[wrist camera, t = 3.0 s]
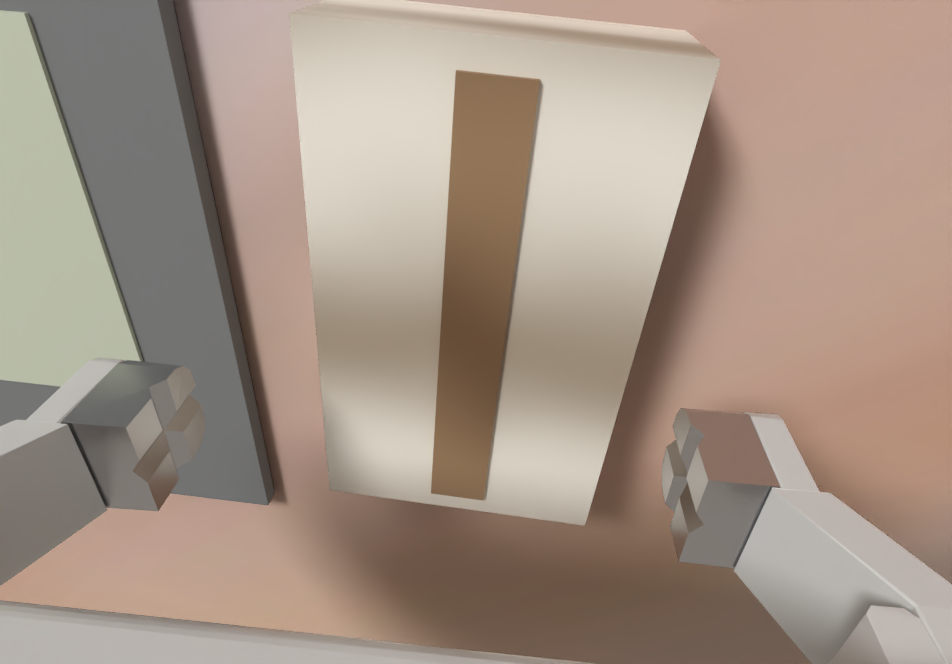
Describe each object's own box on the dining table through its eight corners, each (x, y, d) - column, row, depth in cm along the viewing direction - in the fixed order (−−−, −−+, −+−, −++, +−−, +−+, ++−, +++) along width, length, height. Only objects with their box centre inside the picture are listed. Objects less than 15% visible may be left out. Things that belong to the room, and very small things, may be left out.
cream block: (348, -8, 11) (286, 14, 8) (682, 27, 11) (722, 60, 8) (362, 405, 17) (328, 493, 14) (579, 434, 16) (584, 529, 14)
